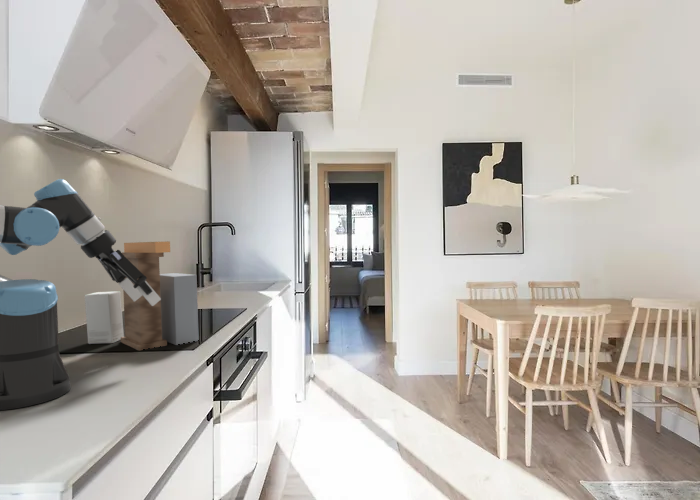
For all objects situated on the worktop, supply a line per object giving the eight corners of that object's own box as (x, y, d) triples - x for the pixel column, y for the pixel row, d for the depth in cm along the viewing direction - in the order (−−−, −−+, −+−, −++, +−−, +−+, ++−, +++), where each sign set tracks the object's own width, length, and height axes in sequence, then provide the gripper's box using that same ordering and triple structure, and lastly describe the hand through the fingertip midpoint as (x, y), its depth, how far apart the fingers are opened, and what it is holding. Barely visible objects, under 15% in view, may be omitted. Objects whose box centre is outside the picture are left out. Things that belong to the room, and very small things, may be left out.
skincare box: (124, 339, 140) (122, 291, 140) (111, 344, 134) (109, 293, 133) (100, 339, 141) (98, 291, 141) (85, 344, 135) (83, 293, 134)
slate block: (176, 345, 130) (173, 276, 130) (156, 337, 142) (153, 274, 141) (198, 340, 135) (196, 274, 134) (177, 333, 146) (175, 272, 146)
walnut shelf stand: (138, 350, 125) (135, 252, 124) (120, 342, 136) (117, 252, 135) (167, 345, 130) (163, 251, 129) (147, 337, 142) (144, 251, 141)
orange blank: (155, 252, 118) (155, 241, 118) (124, 252, 137) (123, 242, 137) (170, 252, 121) (169, 241, 121) (137, 251, 140) (137, 242, 139)
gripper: (122, 226, 102) (176, 294, 111) (92, 230, 120) (142, 288, 129) (93, 246, 98) (152, 314, 107) (67, 246, 116) (120, 305, 125)
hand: (147, 300), depth 118 cm, fingers open, 13 cm apart
